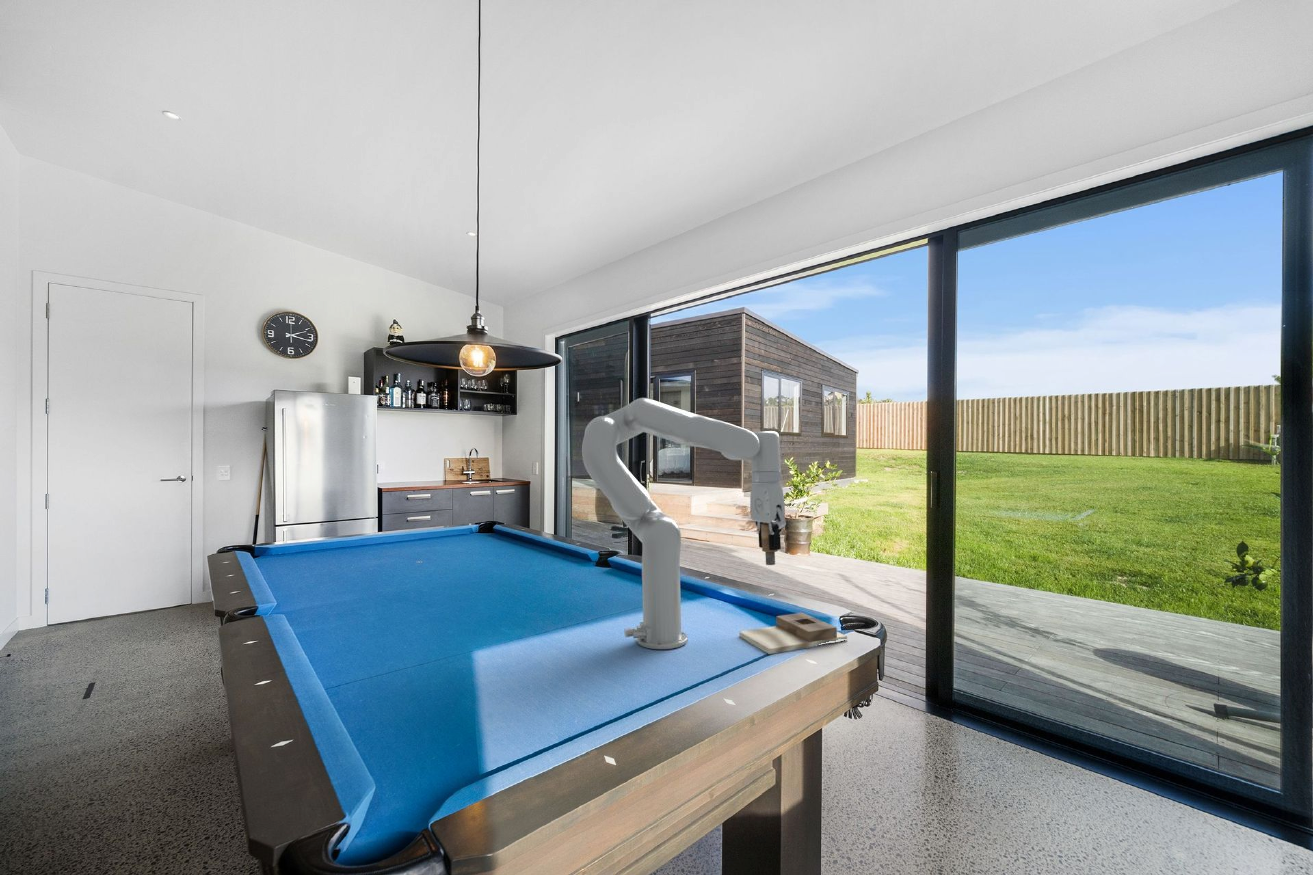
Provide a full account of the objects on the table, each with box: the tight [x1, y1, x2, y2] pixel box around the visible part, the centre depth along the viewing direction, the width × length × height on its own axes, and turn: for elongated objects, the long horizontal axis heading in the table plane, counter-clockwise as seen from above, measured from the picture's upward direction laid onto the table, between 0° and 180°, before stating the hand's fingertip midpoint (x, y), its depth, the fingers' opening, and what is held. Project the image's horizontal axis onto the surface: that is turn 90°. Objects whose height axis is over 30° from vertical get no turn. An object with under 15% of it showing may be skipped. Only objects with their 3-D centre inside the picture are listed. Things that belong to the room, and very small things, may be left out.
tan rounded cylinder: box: [761, 523, 779, 566], centre depth 144 cm, size 4×4×10 cm
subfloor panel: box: [738, 612, 848, 655], centre depth 138 cm, size 22×14×4 cm, turn 111°
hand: (769, 547), depth 144 cm, fingers closed on tan rounded cylinder, 4 cm apart
